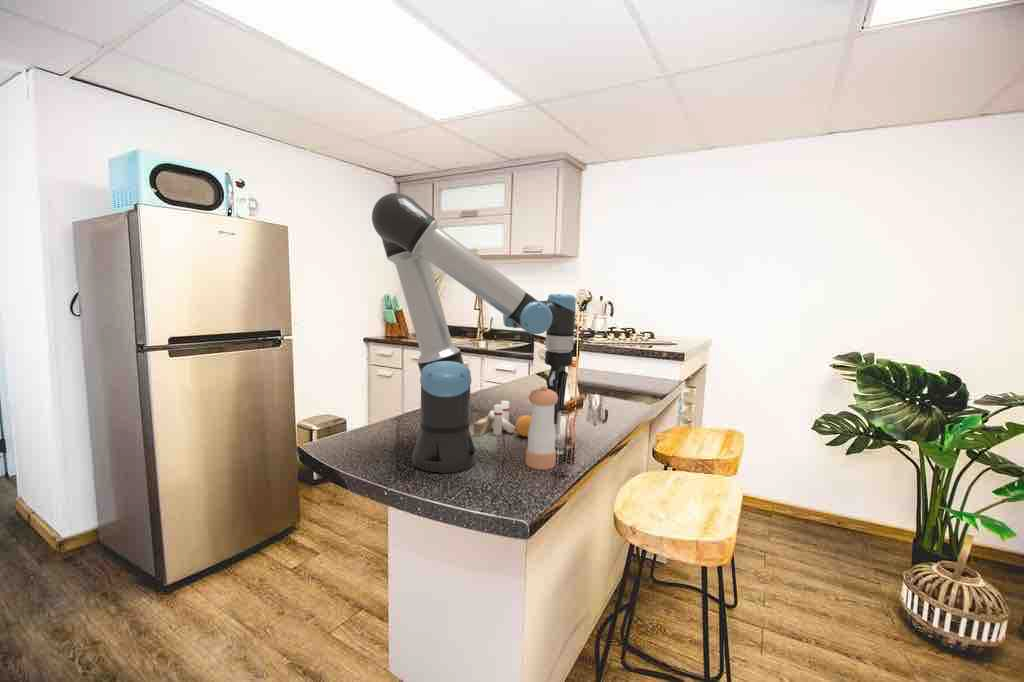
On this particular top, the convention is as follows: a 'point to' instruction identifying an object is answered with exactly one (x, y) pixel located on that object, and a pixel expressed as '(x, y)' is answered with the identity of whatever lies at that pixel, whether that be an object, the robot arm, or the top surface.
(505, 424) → the front pin
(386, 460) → the top surface
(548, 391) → the salt shaker
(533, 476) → the top surface
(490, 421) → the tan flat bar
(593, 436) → the top surface
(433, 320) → the robot arm
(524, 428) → the ball
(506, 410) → the pin
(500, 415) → the pin
